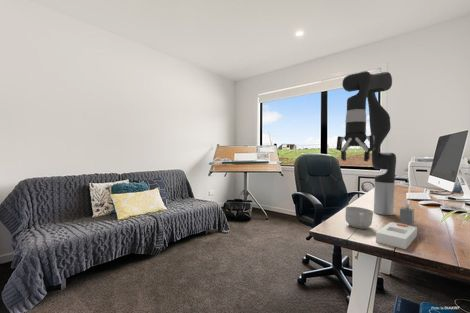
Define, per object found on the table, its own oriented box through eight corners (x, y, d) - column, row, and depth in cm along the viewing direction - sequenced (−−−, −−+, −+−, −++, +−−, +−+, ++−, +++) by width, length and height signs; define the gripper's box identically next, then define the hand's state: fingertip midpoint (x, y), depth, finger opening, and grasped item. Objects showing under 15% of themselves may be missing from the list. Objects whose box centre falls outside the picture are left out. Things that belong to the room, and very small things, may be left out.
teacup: (346, 221, 112) (347, 204, 111) (373, 225, 106) (373, 208, 106) (343, 229, 100) (343, 210, 99) (372, 234, 94) (373, 214, 94)
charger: (401, 227, 104) (402, 202, 104) (413, 230, 101) (414, 204, 101) (399, 229, 101) (400, 204, 101) (411, 232, 98) (412, 205, 98)
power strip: (390, 230, 100) (390, 220, 100) (417, 235, 94) (417, 225, 93) (375, 241, 86) (376, 230, 86) (405, 249, 80) (405, 237, 80)
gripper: (377, 121, 95) (376, 161, 95) (341, 123, 105) (340, 160, 105) (372, 119, 89) (370, 161, 90) (334, 122, 100) (333, 160, 100)
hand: (354, 160), depth 98 cm, fingers open, 8 cm apart
